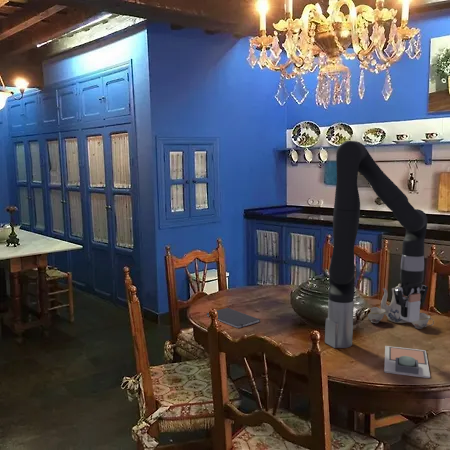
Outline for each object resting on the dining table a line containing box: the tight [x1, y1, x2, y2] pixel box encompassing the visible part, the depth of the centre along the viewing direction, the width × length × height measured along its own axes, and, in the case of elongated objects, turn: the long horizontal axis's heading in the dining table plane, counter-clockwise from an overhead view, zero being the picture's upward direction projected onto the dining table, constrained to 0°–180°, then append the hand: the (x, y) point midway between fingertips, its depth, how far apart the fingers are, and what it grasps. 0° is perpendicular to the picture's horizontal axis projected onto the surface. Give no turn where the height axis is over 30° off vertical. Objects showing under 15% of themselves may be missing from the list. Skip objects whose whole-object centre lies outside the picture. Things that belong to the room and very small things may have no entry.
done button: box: [399, 356, 415, 367], centre depth 168 cm, size 5×5×2 cm
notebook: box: [206, 307, 261, 329], centre depth 220 cm, size 13×2×21 cm
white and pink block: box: [400, 293, 422, 323], centre depth 177 cm, size 4×4×10 cm
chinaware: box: [367, 283, 435, 330], centre depth 215 cm, size 28×17×17 cm, turn 72°
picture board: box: [383, 345, 431, 379], centre depth 176 cm, size 22×14×3 cm, turn 162°
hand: (409, 315), depth 177 cm, fingers closed on white and pink block, 4 cm apart
